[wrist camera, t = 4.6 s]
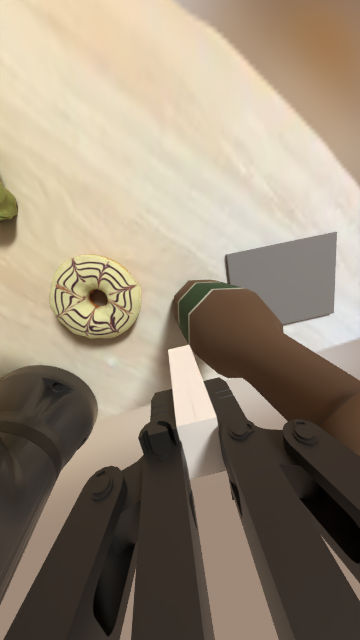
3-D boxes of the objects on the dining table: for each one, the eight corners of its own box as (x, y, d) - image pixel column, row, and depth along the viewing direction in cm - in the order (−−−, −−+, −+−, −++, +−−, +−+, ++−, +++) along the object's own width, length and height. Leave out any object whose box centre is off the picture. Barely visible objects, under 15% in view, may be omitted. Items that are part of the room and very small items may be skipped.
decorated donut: (127, 342, 29) (124, 353, 26) (51, 317, 27) (35, 326, 24) (152, 275, 27) (152, 277, 23) (71, 242, 25) (57, 239, 21)
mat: (235, 334, 31) (236, 335, 30) (225, 254, 27) (227, 254, 27) (331, 312, 32) (333, 312, 31) (333, 232, 28) (336, 231, 28)
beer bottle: (162, 291, 27) (242, 433, 5) (213, 267, 28) (529, 289, 5) (184, 338, 30) (307, 583, 7) (230, 316, 30) (495, 483, 7)
